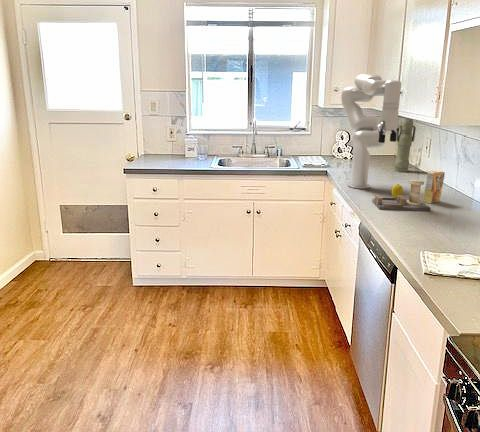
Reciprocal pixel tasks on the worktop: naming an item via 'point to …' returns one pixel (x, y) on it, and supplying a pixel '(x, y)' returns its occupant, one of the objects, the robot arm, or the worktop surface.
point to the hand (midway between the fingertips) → (387, 142)
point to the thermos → (404, 144)
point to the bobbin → (414, 192)
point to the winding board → (397, 204)
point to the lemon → (397, 191)
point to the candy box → (433, 186)
